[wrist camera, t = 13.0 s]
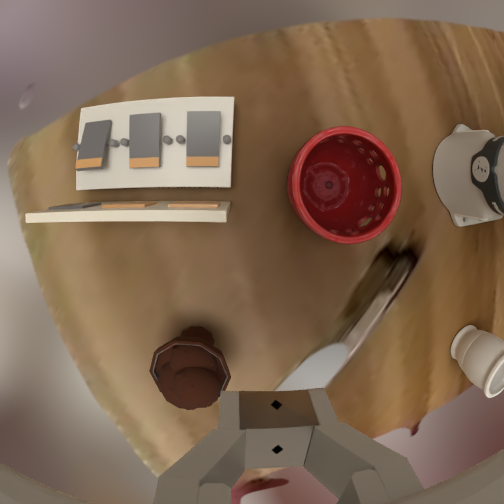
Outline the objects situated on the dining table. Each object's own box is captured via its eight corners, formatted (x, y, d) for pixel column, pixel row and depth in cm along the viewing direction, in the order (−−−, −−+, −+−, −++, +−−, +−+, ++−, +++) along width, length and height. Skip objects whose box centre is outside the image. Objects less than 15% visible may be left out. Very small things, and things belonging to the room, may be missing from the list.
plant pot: (363, 145, 40) (404, 134, 28) (360, 231, 43) (399, 246, 31) (278, 137, 40) (294, 118, 28) (276, 228, 42) (290, 245, 31)
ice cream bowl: (186, 297, 44) (165, 347, 29) (244, 337, 46) (248, 398, 31) (152, 343, 45) (125, 399, 31) (207, 378, 47) (198, 441, 33)
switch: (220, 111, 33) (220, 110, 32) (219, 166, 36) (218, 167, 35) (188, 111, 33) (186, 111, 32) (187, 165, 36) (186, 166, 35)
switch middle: (161, 112, 33) (159, 112, 32) (160, 166, 35) (158, 167, 35) (131, 115, 32) (129, 114, 32) (131, 167, 35) (129, 168, 34)
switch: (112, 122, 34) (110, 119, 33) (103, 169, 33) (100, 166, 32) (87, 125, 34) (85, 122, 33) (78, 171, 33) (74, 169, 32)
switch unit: (234, 104, 38) (233, 60, 23) (230, 208, 41) (226, 222, 26) (92, 113, 37) (34, 88, 21) (88, 208, 40) (25, 222, 25)
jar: (481, 341, 50) (520, 371, 36) (450, 370, 51) (487, 406, 37) (474, 310, 48) (520, 339, 33) (441, 341, 49) (484, 379, 34)
